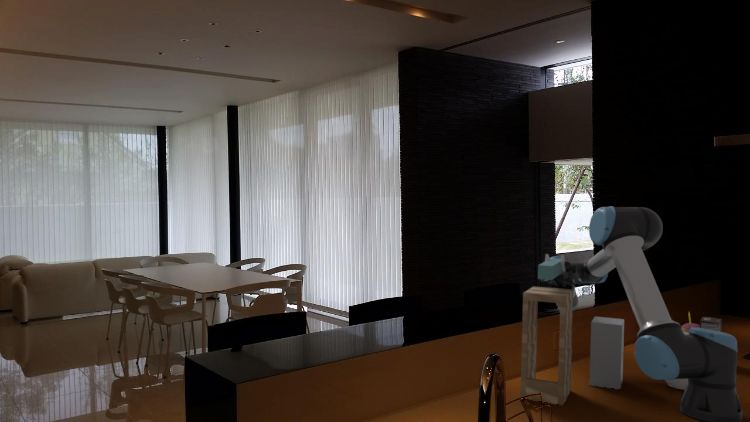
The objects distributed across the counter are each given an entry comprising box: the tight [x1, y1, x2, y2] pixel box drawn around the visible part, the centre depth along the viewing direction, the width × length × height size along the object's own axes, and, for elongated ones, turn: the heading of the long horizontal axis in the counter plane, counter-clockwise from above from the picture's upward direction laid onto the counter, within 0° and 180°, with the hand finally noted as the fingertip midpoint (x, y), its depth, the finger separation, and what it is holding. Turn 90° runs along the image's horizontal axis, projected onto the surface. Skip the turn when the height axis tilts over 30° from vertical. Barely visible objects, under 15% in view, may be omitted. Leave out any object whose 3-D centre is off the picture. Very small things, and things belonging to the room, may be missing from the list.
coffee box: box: [699, 316, 723, 332], centre depth 222 cm, size 9×6×16 cm
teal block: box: [537, 257, 564, 280], centre depth 188 cm, size 24×4×4 cm, turn 155°
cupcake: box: [681, 312, 700, 333], centre depth 259 cm, size 9×8×12 cm
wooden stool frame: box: [520, 285, 574, 406], centre depth 183 cm, size 15×12×31 cm
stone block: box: [589, 316, 625, 390], centre depth 196 cm, size 10×9×20 cm
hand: (554, 258), depth 191 cm, fingers closed on teal block, 4 cm apart
